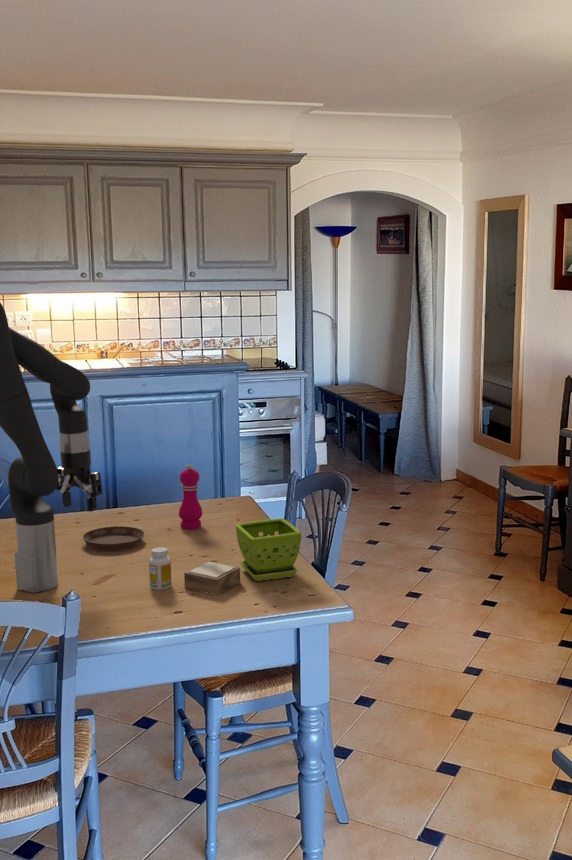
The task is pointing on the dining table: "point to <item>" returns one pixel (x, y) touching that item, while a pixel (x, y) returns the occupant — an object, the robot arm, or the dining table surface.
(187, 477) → the pepper mill
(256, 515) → the dining table surface
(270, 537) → the flower pot
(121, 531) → the plant saucer
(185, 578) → the pedestal
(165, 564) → the supplement bottle
